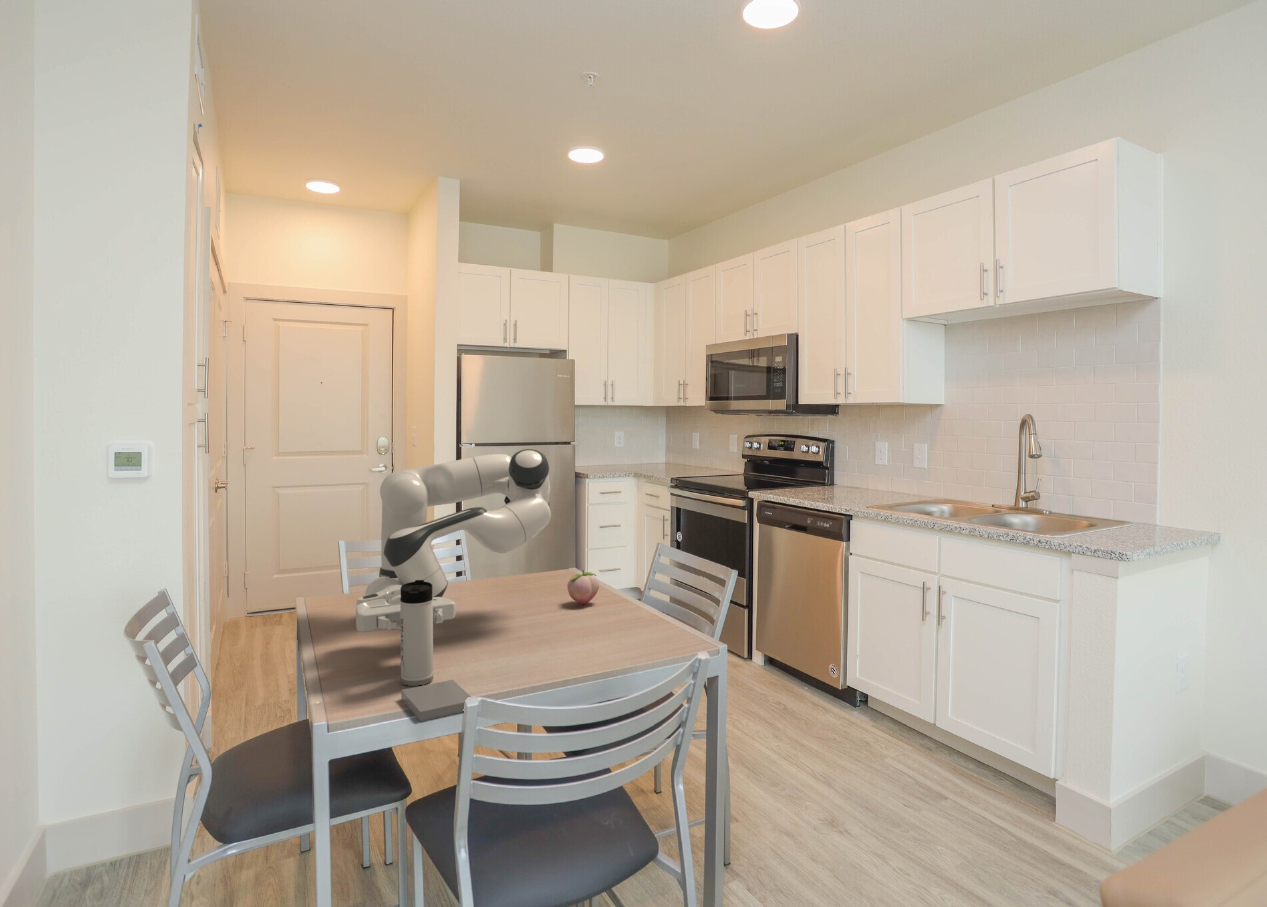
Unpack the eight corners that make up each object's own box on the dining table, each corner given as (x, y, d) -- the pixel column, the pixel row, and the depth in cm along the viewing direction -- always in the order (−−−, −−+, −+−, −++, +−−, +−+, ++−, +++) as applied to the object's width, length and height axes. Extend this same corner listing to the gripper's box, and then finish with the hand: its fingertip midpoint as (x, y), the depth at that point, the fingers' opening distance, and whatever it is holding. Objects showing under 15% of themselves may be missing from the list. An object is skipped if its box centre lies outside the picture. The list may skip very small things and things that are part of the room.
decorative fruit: (582, 598, 214) (583, 565, 213) (603, 603, 209) (603, 569, 208) (560, 605, 207) (560, 570, 206) (581, 610, 201) (581, 574, 201)
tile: (401, 689, 137) (420, 711, 127) (452, 679, 142) (474, 699, 132) (401, 701, 137) (420, 724, 127) (452, 690, 142) (474, 711, 132)
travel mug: (436, 674, 150) (435, 579, 149) (429, 686, 143) (429, 586, 142) (405, 675, 149) (404, 579, 148) (397, 687, 143) (396, 587, 142)
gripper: (444, 614, 163) (466, 629, 151) (349, 628, 152) (364, 646, 140) (444, 587, 163) (466, 600, 151) (349, 598, 151) (364, 614, 140)
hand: (416, 622), depth 145 cm, fingers open, 8 cm apart
